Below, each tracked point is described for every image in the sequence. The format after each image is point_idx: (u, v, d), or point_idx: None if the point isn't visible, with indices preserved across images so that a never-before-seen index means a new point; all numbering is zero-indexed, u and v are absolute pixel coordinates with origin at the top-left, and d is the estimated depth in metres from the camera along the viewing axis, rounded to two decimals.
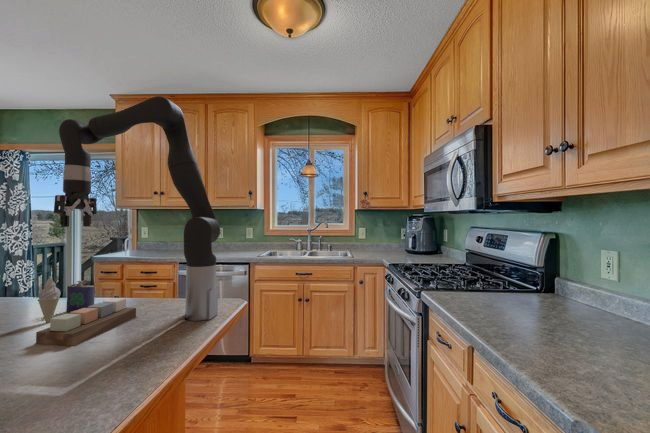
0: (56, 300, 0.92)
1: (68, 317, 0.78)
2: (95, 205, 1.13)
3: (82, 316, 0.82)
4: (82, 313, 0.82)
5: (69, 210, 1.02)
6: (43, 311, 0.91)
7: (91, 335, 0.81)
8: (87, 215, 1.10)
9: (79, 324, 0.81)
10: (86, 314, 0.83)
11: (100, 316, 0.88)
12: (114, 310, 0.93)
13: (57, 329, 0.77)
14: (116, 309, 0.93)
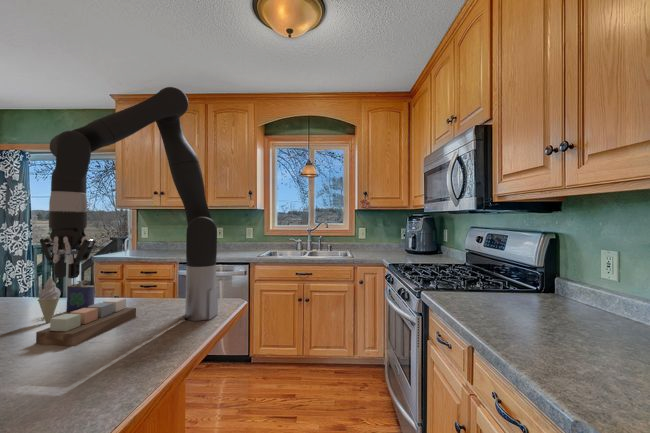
0: (56, 300, 0.92)
1: (68, 317, 0.78)
2: None
3: (82, 316, 0.82)
4: (82, 313, 0.82)
5: None
6: (43, 311, 0.91)
7: (91, 335, 0.81)
8: (63, 261, 0.80)
9: (79, 324, 0.81)
10: (86, 314, 0.83)
11: (100, 316, 0.88)
12: (114, 310, 0.93)
13: (57, 329, 0.77)
14: (116, 309, 0.93)
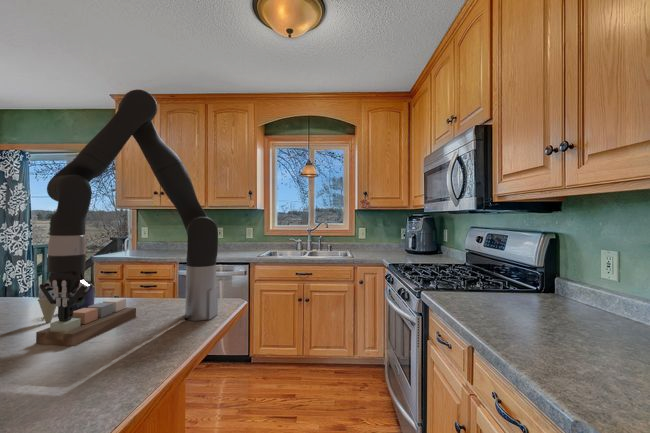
0: None
1: (68, 321, 0.78)
2: None
3: (82, 316, 0.82)
4: (82, 313, 0.82)
5: None
6: (43, 311, 0.91)
7: (91, 335, 0.81)
8: None
9: None
10: (86, 314, 0.83)
11: (100, 316, 0.88)
12: (114, 310, 0.93)
13: None
14: (116, 309, 0.93)
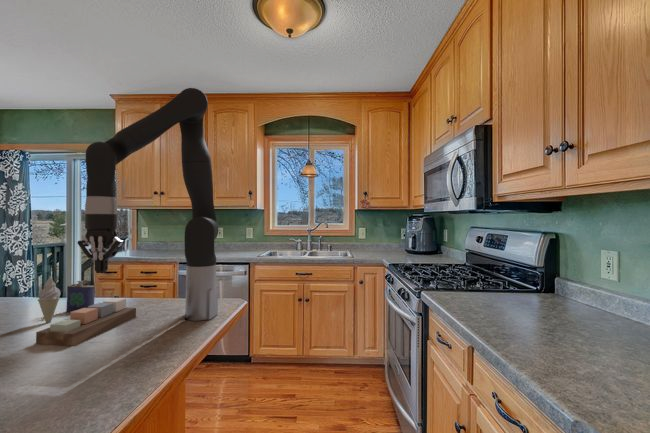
0: (56, 300, 0.92)
1: (68, 323, 0.78)
2: None
3: (82, 316, 0.82)
4: (82, 313, 0.82)
5: None
6: (43, 311, 0.91)
7: (91, 335, 0.81)
8: None
9: None
10: (86, 314, 0.83)
11: (100, 316, 0.88)
12: (114, 310, 0.93)
13: None
14: (116, 309, 0.93)
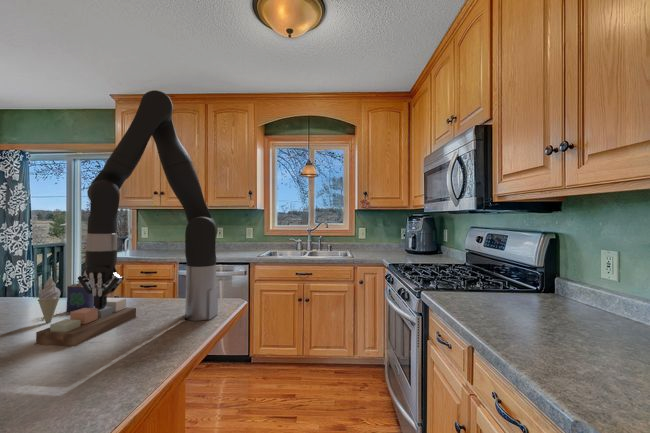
0: (56, 300, 0.92)
1: (68, 323, 0.78)
2: None
3: (82, 316, 0.82)
4: (82, 313, 0.82)
5: None
6: (43, 311, 0.91)
7: (91, 335, 0.81)
8: None
9: None
10: (86, 314, 0.83)
11: None
12: (114, 310, 0.93)
13: None
14: (116, 309, 0.93)
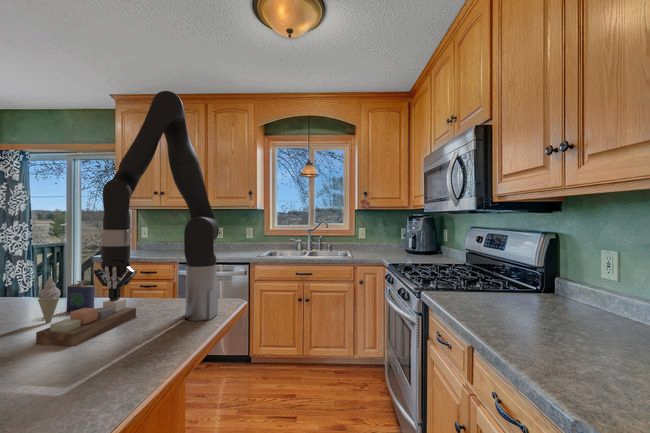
0: (56, 300, 0.92)
1: (68, 323, 0.78)
2: None
3: (82, 316, 0.82)
4: (82, 313, 0.82)
5: None
6: (43, 311, 0.91)
7: (91, 335, 0.81)
8: None
9: None
10: (86, 314, 0.83)
11: None
12: (114, 310, 0.93)
13: None
14: (116, 309, 0.93)
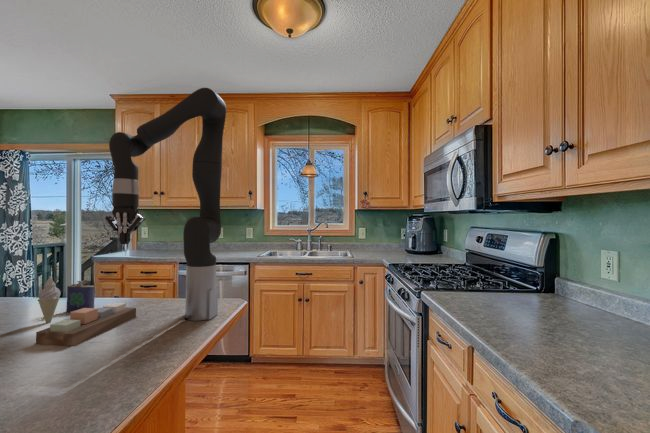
0: (56, 300, 0.92)
1: (68, 323, 0.78)
2: None
3: (82, 316, 0.82)
4: (82, 313, 0.82)
5: None
6: (43, 311, 0.91)
7: (91, 335, 0.81)
8: None
9: None
10: (86, 314, 0.83)
11: None
12: None
13: None
14: None
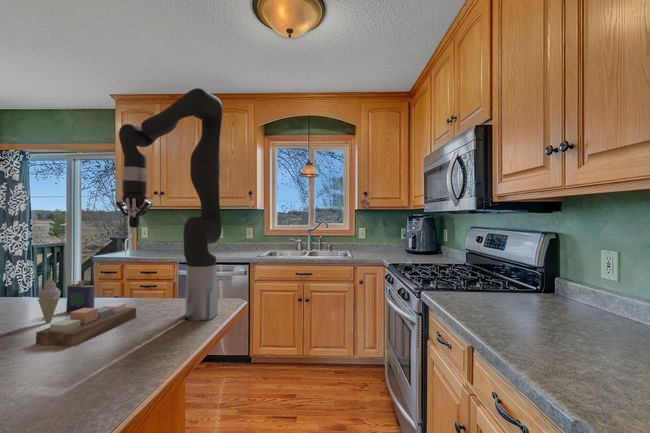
0: (56, 300, 0.92)
1: (68, 323, 0.78)
2: None
3: (82, 316, 0.82)
4: (82, 313, 0.82)
5: None
6: (43, 311, 0.91)
7: (91, 335, 0.81)
8: None
9: None
10: (86, 314, 0.83)
11: None
12: None
13: None
14: None
